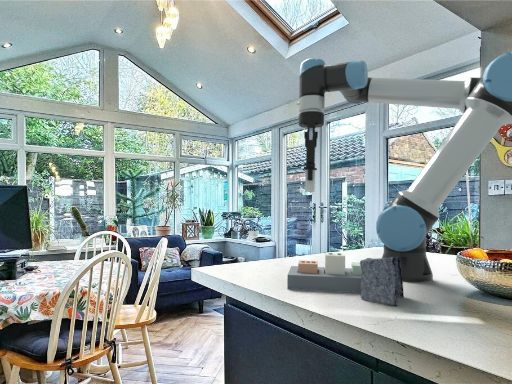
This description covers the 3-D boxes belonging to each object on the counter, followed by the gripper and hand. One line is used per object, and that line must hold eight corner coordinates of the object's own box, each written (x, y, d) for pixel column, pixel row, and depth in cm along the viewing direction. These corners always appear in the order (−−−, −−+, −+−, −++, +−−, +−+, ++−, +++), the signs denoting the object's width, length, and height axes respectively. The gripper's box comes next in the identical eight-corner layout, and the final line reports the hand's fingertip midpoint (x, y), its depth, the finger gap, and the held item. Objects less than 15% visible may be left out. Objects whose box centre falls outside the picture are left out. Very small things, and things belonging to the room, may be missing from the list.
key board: (378, 285, 95) (378, 269, 95) (386, 298, 84) (386, 279, 84) (291, 281, 100) (291, 266, 100) (287, 292, 88) (287, 274, 88)
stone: (413, 311, 79) (404, 308, 71) (370, 312, 84) (356, 309, 76) (405, 259, 84) (396, 251, 76) (365, 263, 89) (352, 255, 81)
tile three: (317, 279, 95) (317, 260, 95) (317, 283, 90) (317, 263, 90) (299, 278, 96) (299, 259, 96) (298, 282, 91) (298, 262, 91)
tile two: (343, 271, 94) (343, 252, 94) (345, 275, 89) (345, 255, 89) (325, 270, 95) (325, 251, 95) (325, 274, 90) (325, 254, 90)
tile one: (370, 281, 92) (370, 262, 93) (373, 286, 88) (373, 265, 88) (351, 280, 93) (351, 261, 93) (353, 285, 88) (353, 264, 89)
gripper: (299, 118, 111) (298, 191, 110) (298, 107, 98) (296, 191, 98) (323, 117, 110) (321, 192, 109) (325, 107, 97) (323, 191, 96)
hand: (309, 191), depth 103 cm, fingers closed
